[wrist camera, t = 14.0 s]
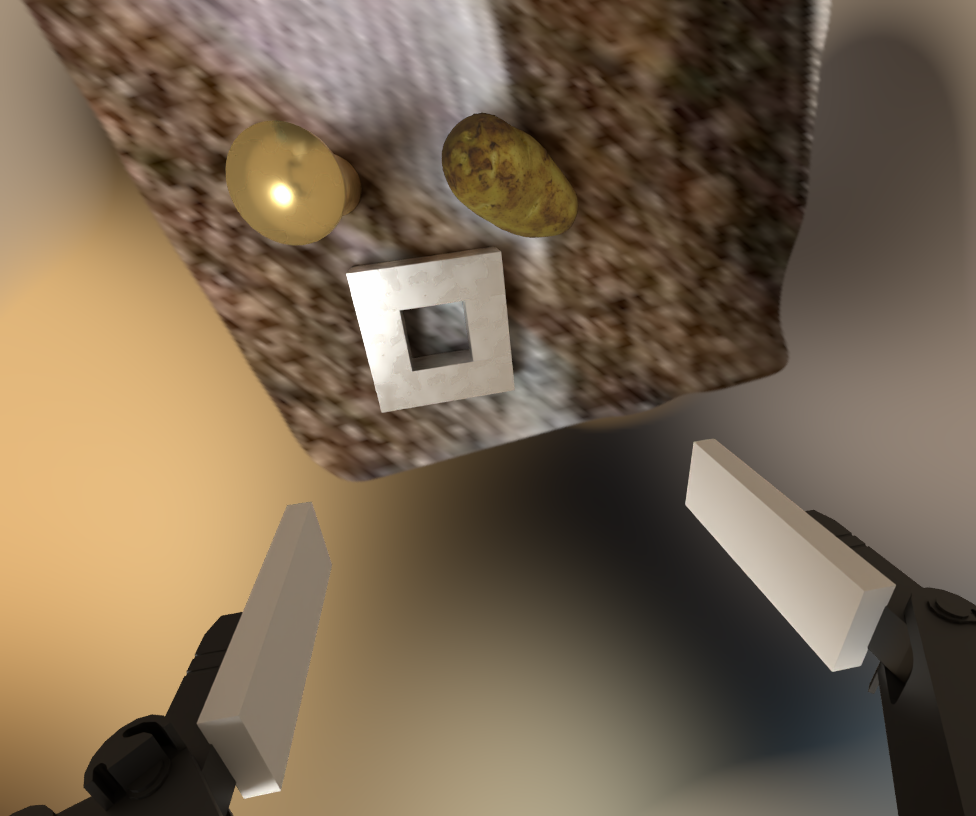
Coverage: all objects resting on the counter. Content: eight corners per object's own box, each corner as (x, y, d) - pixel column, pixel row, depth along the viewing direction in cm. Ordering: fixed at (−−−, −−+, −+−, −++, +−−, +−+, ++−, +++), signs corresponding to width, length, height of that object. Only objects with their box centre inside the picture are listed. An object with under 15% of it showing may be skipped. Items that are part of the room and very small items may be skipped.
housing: (351, 266, 43) (346, 273, 39) (494, 246, 44) (501, 251, 41) (384, 396, 49) (381, 412, 46) (507, 375, 50) (514, 390, 47)
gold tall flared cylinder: (284, 149, 38) (206, 128, 24) (359, 140, 39) (327, 114, 24) (307, 229, 41) (249, 252, 27) (376, 219, 41) (356, 237, 27)
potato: (515, 269, 45) (533, 284, 38) (423, 162, 40) (425, 157, 33) (578, 209, 44) (609, 213, 37) (491, 88, 38) (509, 66, 31)
